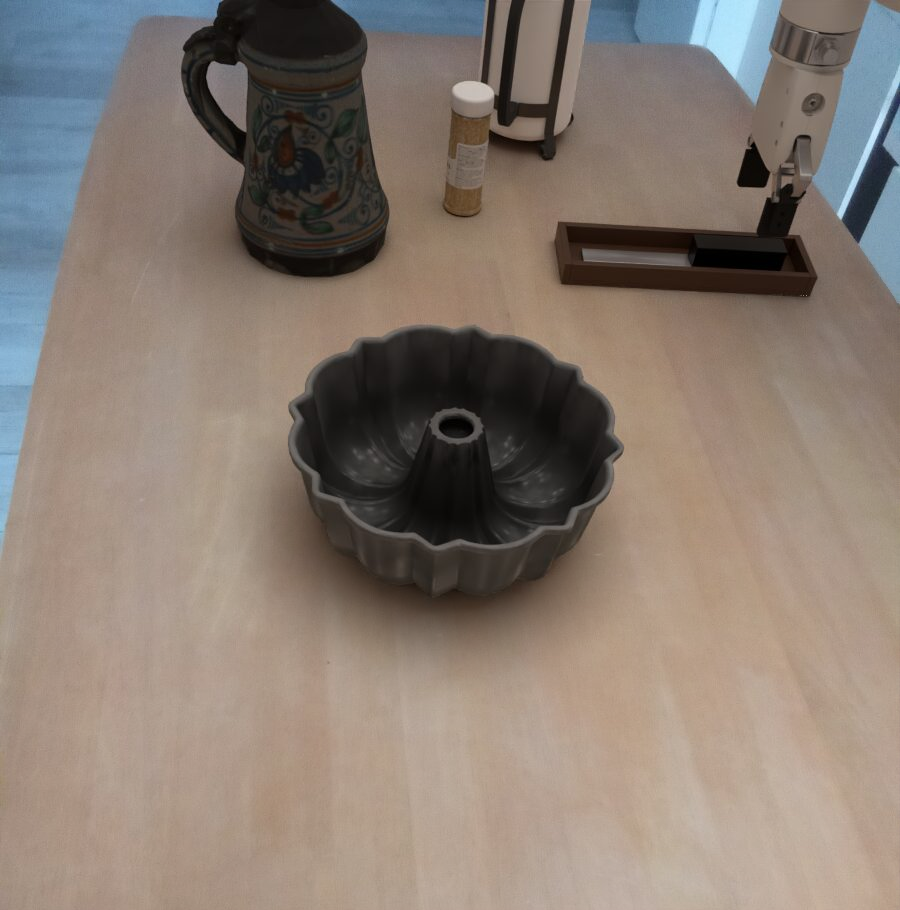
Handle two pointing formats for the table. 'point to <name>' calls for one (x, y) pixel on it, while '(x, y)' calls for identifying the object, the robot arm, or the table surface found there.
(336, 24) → the beer stein
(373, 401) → the bundt pan
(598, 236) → the cutlery tray
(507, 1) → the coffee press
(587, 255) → the knife
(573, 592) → the table surface
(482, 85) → the sprinkles bottle
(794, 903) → the table surface
